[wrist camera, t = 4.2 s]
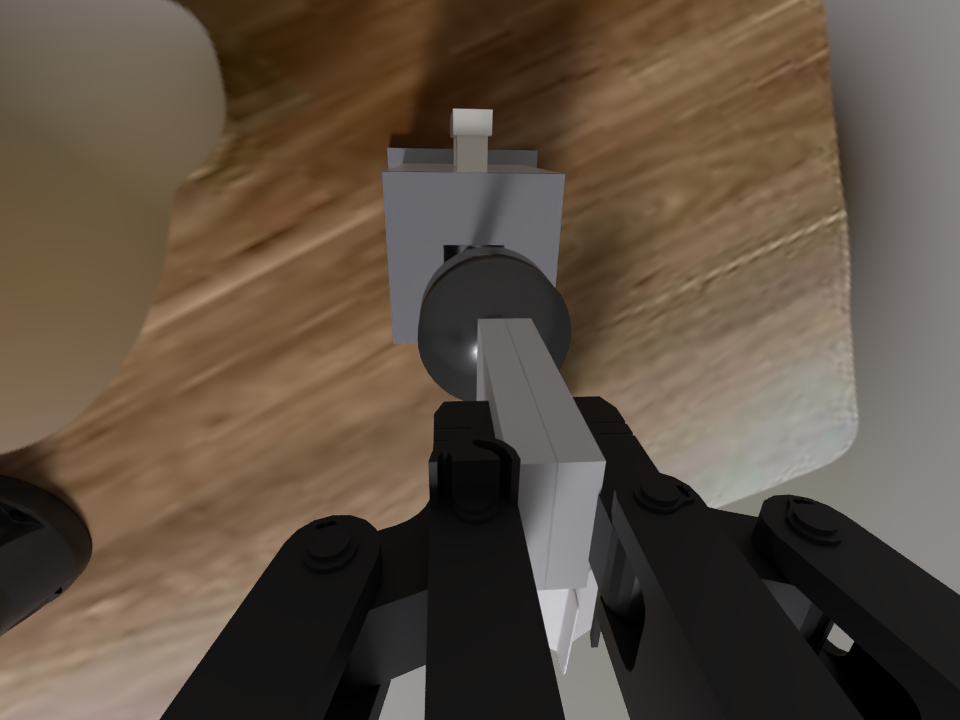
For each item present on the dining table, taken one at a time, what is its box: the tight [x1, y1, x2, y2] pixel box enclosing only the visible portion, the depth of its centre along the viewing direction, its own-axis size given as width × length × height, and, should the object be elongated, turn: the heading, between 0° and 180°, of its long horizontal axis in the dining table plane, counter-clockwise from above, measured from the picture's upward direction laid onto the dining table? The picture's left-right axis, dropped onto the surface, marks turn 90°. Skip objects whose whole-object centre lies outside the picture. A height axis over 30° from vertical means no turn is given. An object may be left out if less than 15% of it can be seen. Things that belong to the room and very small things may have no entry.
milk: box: [537, 566, 598, 674], centre depth 36 cm, size 6×6×22 cm
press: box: [382, 109, 565, 344], centre depth 31 cm, size 11×13×14 cm
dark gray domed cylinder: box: [418, 245, 571, 401], centre depth 21 cm, size 6×6×14 cm
